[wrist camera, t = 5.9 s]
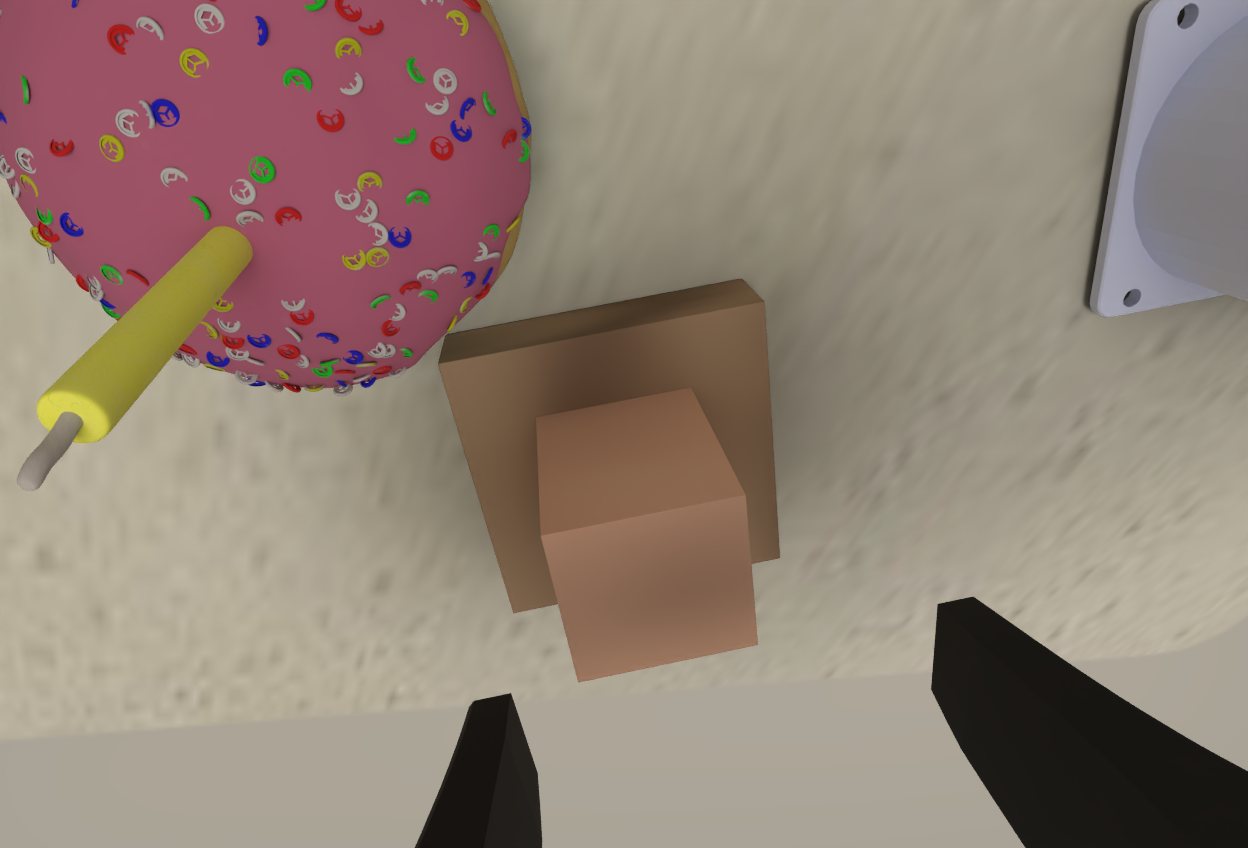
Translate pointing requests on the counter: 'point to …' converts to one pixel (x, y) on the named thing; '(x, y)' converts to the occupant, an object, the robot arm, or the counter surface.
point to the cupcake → (259, 185)
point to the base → (606, 373)
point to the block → (644, 534)
